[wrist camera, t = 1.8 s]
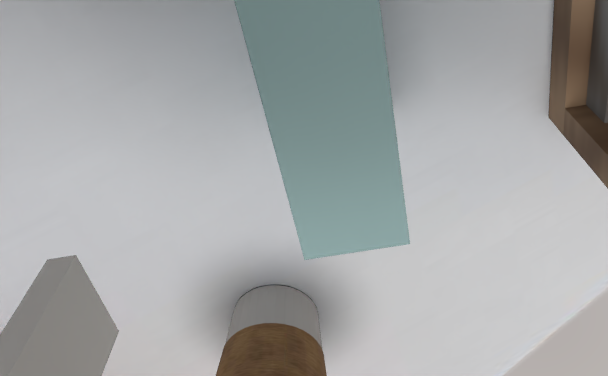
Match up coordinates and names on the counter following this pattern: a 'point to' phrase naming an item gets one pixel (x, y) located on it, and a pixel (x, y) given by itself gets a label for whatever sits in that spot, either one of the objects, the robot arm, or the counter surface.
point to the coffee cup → (273, 335)
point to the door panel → (330, 119)
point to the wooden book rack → (581, 79)
